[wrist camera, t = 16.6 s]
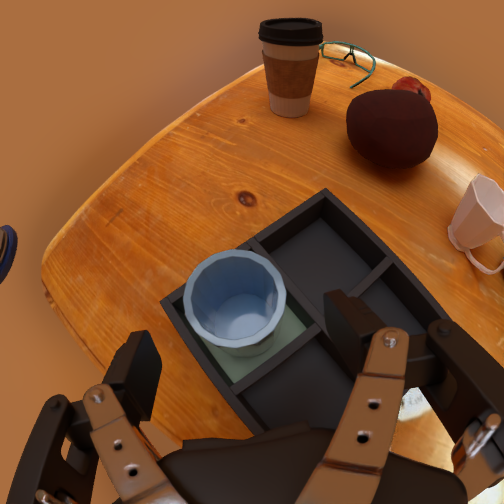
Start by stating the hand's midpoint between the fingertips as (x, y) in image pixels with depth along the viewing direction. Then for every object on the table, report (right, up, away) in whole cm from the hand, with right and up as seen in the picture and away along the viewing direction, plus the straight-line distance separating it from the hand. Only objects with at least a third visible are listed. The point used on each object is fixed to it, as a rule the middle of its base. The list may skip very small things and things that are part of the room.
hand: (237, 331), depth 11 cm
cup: (+26, +4, +14) cm, 30 cm away
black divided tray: (+6, -4, +11) cm, 13 cm away
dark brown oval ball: (+18, +16, +20) cm, 32 cm away
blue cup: (0, -3, +11) cm, 11 cm away
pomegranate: (+28, +29, +26) cm, 48 cm away
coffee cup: (+6, +26, +26) cm, 37 cm away
